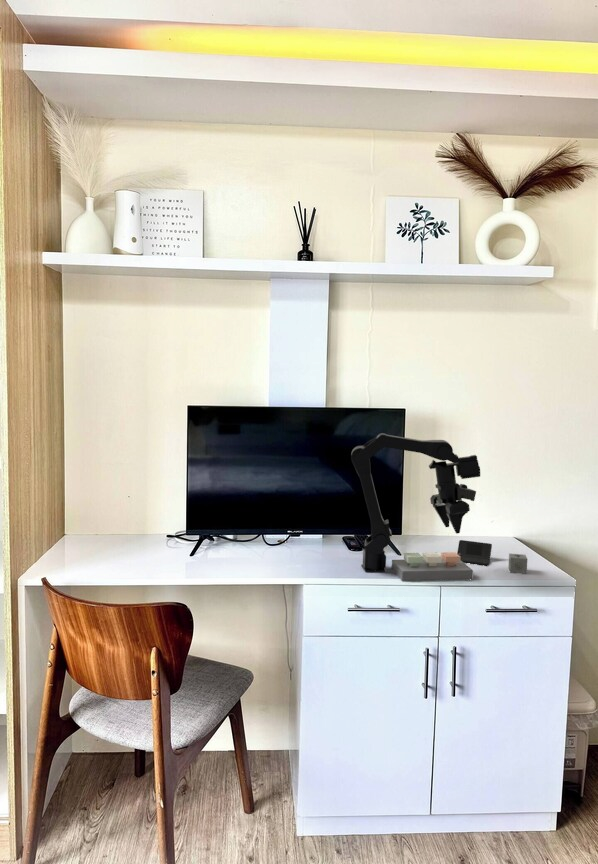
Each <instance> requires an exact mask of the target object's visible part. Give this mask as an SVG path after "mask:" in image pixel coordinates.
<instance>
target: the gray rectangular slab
mask: <svg viewBox="0 0 598 864" xmlns="http://www.w3.org/2000/svg"><path fill="white" fill-rule="evenodd" d="M391 570H392V571H393V572H394V573H395V575H396V576H397V575H398V576H397V577H398V578H399V579H400V581H402V582H413V581H414V582H415V581H417V582H421V581H427V582H428V581H468V580H469V581H472V580H473V575H474V574H473V573H474V572H473V571H474V570H473V568H471V567H470V566H468V565H467V563H463V562H462V561H461V560H460V562H455V566H447V565H445V561H444V560H442V561H441V563H437V566H428V565H427V562H426V561H425V560H424V559H423V563H418V567H409V566H408V562H407V561H406V560H405V559H404V558H403V559H391ZM470 579H471V580H470Z"/></svg>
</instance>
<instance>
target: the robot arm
mask: <svg viewBox="0 0 598 864" xmlns="http://www.w3.org/2000/svg"><path fill="white" fill-rule="evenodd" d="M384 448H389V449H393V450H394V449H395V450H400V451H401V450H402V451H406V452H413V453H419V454H421V455H422V454H423V455H426V456H428V457H430V458H432V460H431V463H429V464H428V468H429V469H430V470H433V469H434V470H435V478H436V484H435V488H436V489H437V494H436V493H435V494H432V495H431V497H430V499H429V500H430V504H431V505H432V507H433V508H434V510H435V512H436V513H437V515H438V516H439V518H440V520H441V522H442V523H443V525H444V527H445V528H450V524H451V526H452V528H453V530H454V533H455V534H460V533H461V528H462V522H463V517H464V516H465V515H466V514H468V513H469V512H470V510H471V509H470V504H469V503H467V502H466V501H464V500H469V501H471V502H474V501H475V498H476V495H477V491H476V490H474V489H471V488H468V485H467V484H463V483H460V484H459V482H458V483H457V481H456V480H457V479H456V475H457V477H460V479H461V480H467V479H473V478H480V477H481V467H480V465H479V464H480V463H479V460H478V456H477V455H476V454H473V455H472V454H471V455H469V456H463V457H462V456H461V457H459V456H458V455H457V454H455V453H454V449H453V447H452V445H451V444H450V443H449V442H448V441H447V440H444V439H428V440H427V439H426V440H423V439H415V438H409V437H402V436H396V435H392V434H391V435H390V434H386V433H384V432H381V433H379V434H378V435H376V436H375V437H374V438H372V439H370V440H369V441H367V442H366V443H365V444H363V445H357V446H355V447H354V448H353V449H352V451H351V454H350V460H351V463H352V465H353V467H354V469H355V471H356V474H357V476H358V478H359V480H360V484H361V488H362V492H363V496H364V501H365V504H366V507H367V513H368V516H369V519H370V531H371V532H370V533H371V534H370V535H369V536H368V537H366V538H365V540H364V548H362V549H363V550H362V563H361V564H360V567H361V568H362V569H363V571H365V572H366V573H370V572H371V573H372V572H373V573H374V572H376V573H377V572H379V573H381V572H386V568H387V567H386V566H387V555H386V554H385V553H386V552H385V548H387V547H388V546H389V545H390V543H391V537H392V535H393V534H392V530H391V529H390V522H389V519H385V520H384V518H383V515H382V513H381V509H380V504H379V501H378V497H377V493H376V489H375V485H374V480H373V476H372V473H371V470H372V469H371V458H372V457H374V456H375V455H376V454H377V453H379V452H380V451H381V450H383V449H384ZM436 460H439V461H436ZM447 461H449V462H448V463H447Z"/></svg>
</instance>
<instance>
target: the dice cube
mask: <svg viewBox="0 0 598 864" xmlns="http://www.w3.org/2000/svg"><path fill="white" fill-rule="evenodd" d="M507 566H508V567H507V569H508V571H510V572H509V573H510V574H517V573H522V574H521V575H527V571H528V570H527V569H528V557H527V555H526V554H524V553H523V554H522V553H521V554H519V553H508V565H507Z"/></svg>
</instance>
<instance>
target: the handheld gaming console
mask: <svg viewBox="0 0 598 864" xmlns="http://www.w3.org/2000/svg"><path fill="white" fill-rule="evenodd" d="M492 547H493V545H492V543H490V542H489V543H488V542H482V541H481V542H480V541H472V540H471V541H470V540H462V539H460V540H459V541H458V546H457V552H456V553H457V554H458V555H459V556H460V560H461V561H462V562H463V563H465V564H467V563H470V564H469V565H474V564H477V565H476V566H483V565H484V566H485V567H488V566H487V565H489V564H490V561H491V554H492Z"/></svg>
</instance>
